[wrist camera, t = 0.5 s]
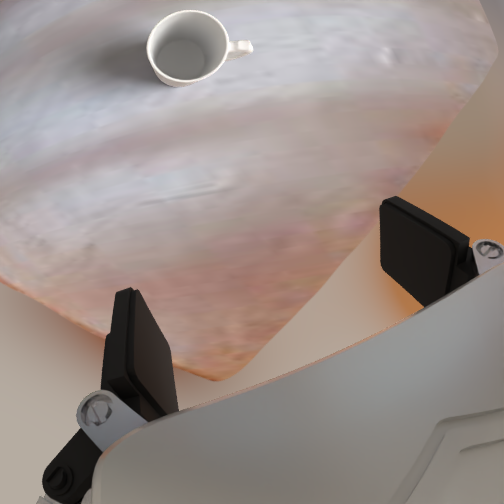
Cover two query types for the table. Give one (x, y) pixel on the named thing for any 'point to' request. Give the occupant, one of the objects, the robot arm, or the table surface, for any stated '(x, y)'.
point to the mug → (191, 47)
